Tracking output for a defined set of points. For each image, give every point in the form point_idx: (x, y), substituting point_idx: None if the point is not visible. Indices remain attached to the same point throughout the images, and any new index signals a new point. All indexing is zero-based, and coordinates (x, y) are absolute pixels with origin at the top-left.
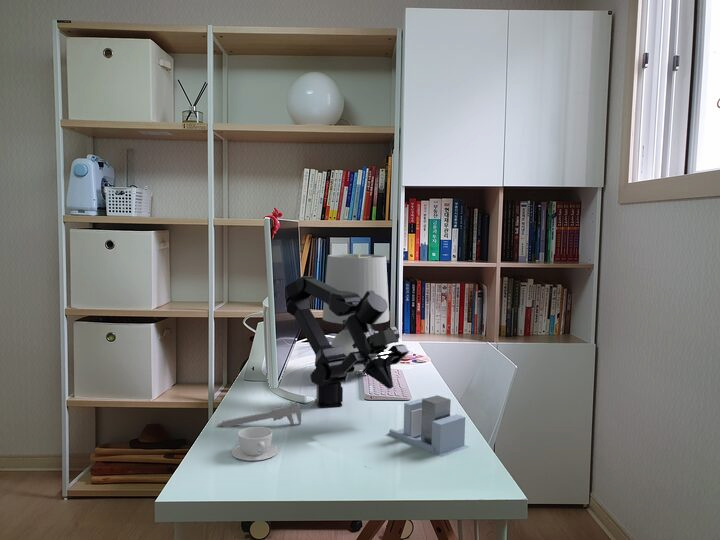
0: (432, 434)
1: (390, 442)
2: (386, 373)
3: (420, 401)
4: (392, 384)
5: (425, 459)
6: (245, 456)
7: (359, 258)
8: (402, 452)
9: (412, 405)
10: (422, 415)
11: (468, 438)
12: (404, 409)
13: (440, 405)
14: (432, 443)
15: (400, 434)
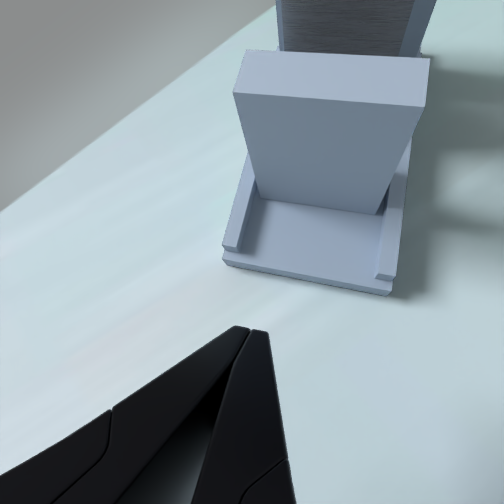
0: (429, 18)
1: (412, 260)
2: (164, 471)
3: (314, 63)
4: (232, 331)
5: (440, 91)
6: None
7: None
8: (456, 171)
9: (406, 63)
10: (403, 34)
11: (186, 99)
12: (410, 135)
13: None
14: (417, 51)
15: (403, 206)
